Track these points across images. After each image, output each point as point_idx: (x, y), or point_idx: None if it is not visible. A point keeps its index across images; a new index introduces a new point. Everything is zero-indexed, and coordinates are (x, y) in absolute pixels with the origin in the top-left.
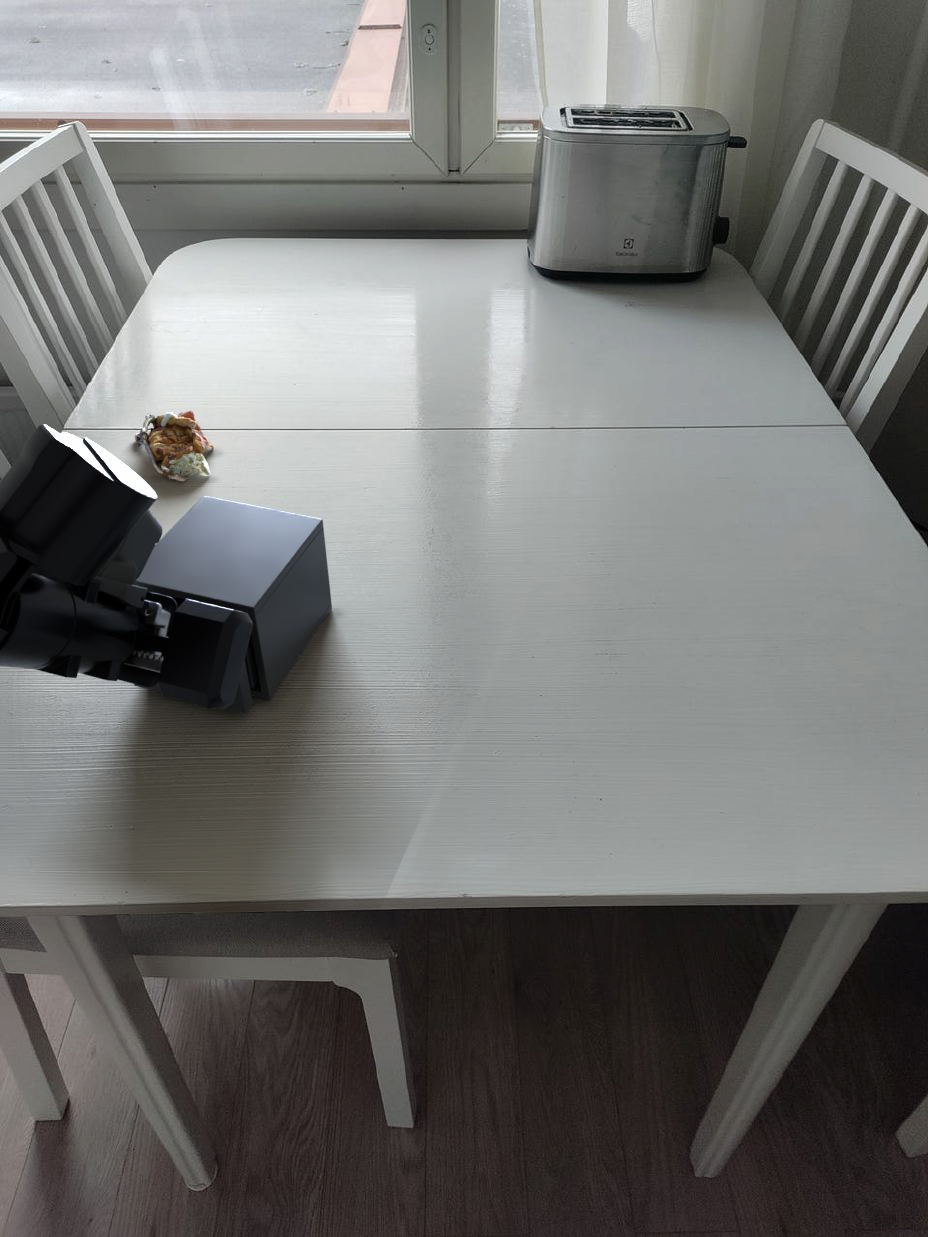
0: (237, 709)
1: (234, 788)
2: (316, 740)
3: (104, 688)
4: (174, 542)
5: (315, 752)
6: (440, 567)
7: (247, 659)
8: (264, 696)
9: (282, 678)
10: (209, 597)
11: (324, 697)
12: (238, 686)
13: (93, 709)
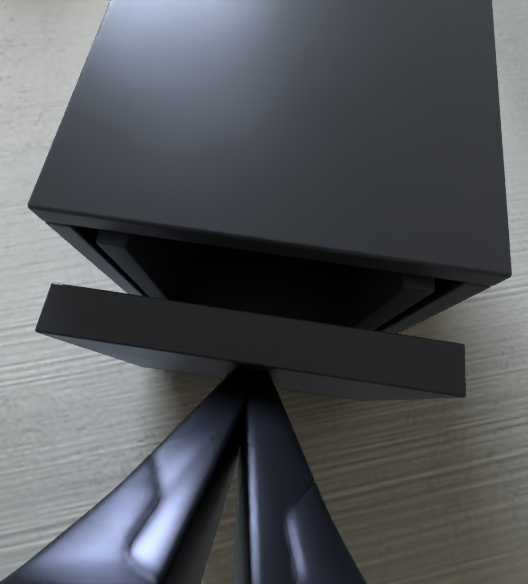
0: (350, 398)
1: (402, 567)
2: (486, 421)
3: (86, 364)
4: (140, 44)
5: (497, 449)
6: (498, 47)
7: (377, 326)
8: None
9: None
10: (346, 250)
11: (455, 322)
12: (383, 399)
13: (83, 418)
